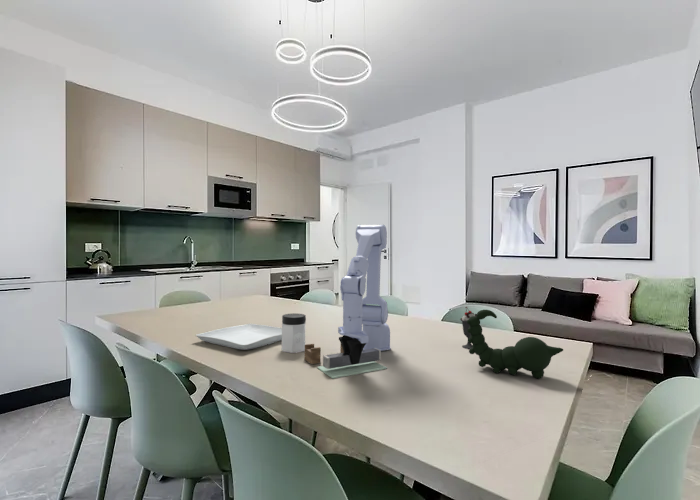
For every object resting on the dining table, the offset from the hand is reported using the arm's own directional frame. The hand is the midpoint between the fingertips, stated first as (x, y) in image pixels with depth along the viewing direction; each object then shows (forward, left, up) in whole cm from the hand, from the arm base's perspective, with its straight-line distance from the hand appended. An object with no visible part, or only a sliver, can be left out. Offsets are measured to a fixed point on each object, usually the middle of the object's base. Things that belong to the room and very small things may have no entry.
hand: (352, 362), depth 109 cm
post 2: (-6, -12, -2) cm, 13 cm away
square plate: (+19, -47, -2) cm, 51 cm away
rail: (0, 0, 0) cm, 0 cm away
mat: (0, 0, -2) cm, 2 cm away
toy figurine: (-39, +25, -2) cm, 46 cm away
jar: (+8, -27, -2) cm, 28 cm away
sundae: (-50, -1, -2) cm, 50 cm away
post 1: (+7, -12, -2) cm, 14 cm away
